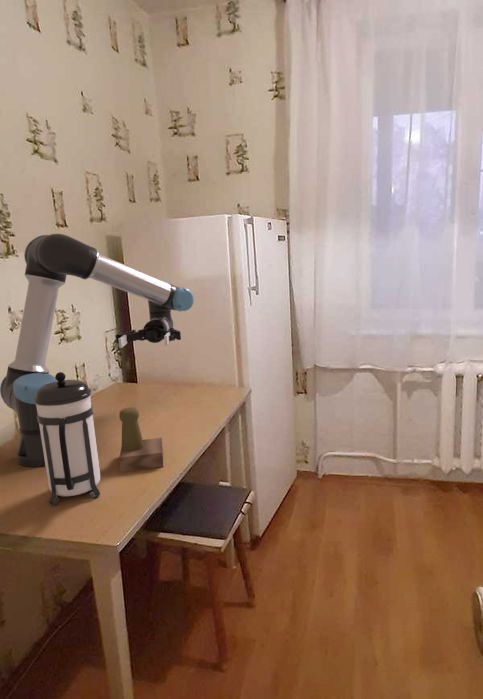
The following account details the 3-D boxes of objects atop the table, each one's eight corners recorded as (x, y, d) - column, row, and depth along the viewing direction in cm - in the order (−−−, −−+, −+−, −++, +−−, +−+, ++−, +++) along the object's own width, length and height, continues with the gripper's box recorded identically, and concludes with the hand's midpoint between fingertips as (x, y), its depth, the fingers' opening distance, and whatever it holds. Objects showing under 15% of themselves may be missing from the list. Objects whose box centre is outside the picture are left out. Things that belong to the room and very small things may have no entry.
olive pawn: (146, 442, 140) (142, 404, 138) (140, 451, 134) (136, 412, 132) (125, 443, 141) (121, 405, 139) (118, 451, 135) (113, 412, 133)
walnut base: (120, 471, 132) (119, 457, 131) (123, 455, 142) (122, 442, 142) (163, 466, 133) (161, 452, 133) (163, 450, 144) (161, 437, 143)
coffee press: (26, 499, 120) (7, 378, 114) (82, 473, 133) (67, 362, 127) (72, 518, 110) (53, 386, 104) (127, 487, 123) (113, 368, 117)
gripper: (194, 338, 170) (186, 352, 149) (120, 343, 170) (102, 356, 150) (192, 316, 168) (183, 327, 147) (118, 321, 169) (99, 331, 148)
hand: (142, 342), depth 148 cm, fingers open, 13 cm apart
